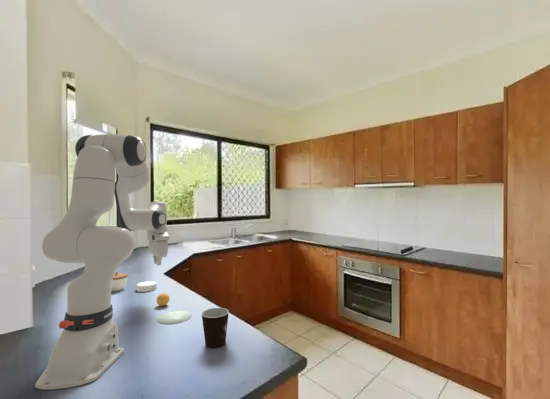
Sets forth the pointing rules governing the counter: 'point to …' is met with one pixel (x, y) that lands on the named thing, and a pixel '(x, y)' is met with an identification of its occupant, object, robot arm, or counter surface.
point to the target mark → (174, 317)
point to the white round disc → (146, 286)
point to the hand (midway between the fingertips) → (157, 264)
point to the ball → (162, 299)
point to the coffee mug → (215, 326)
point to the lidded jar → (119, 281)
